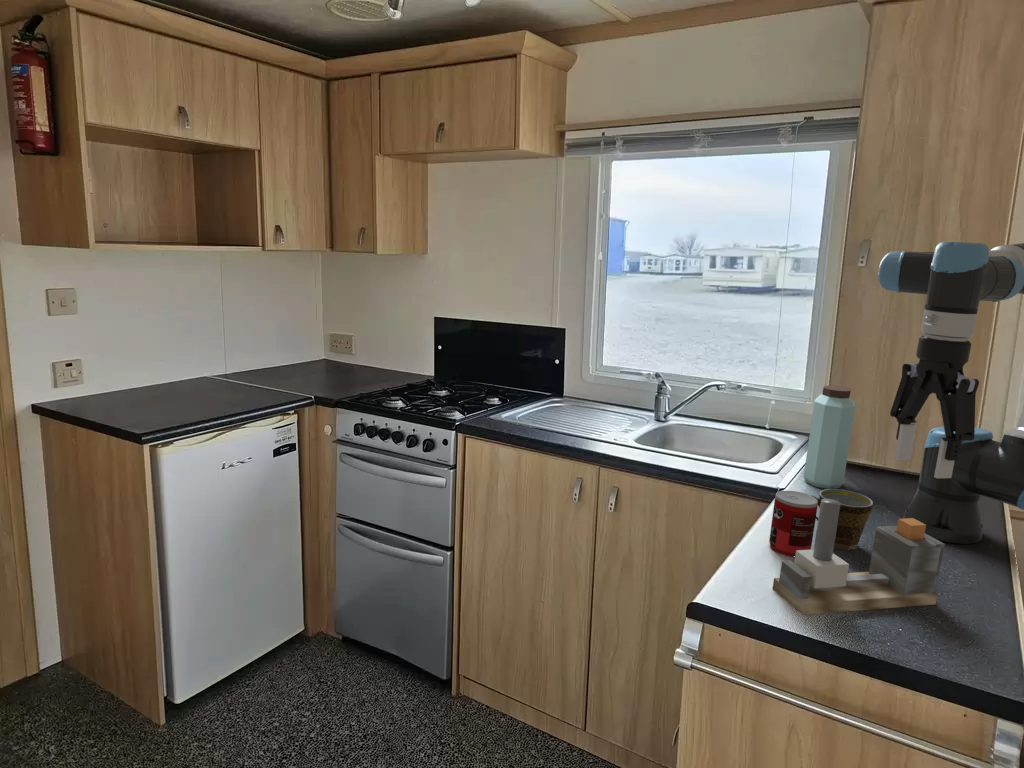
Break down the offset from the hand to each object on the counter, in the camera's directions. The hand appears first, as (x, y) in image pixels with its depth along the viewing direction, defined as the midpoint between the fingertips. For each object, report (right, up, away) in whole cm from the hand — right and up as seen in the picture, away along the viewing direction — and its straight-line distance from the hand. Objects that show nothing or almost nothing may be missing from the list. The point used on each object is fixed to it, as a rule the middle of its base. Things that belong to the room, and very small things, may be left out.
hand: (921, 468), depth 123 cm
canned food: (-15, -19, +21) cm, 32 cm away
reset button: (-1, -12, +3) cm, 13 cm away
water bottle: (+10, -11, +62) cm, 63 cm away
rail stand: (-10, -23, +3) cm, 25 cm away
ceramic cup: (-4, -18, +25) cm, 32 cm away
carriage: (-18, -19, 0) cm, 26 cm away
